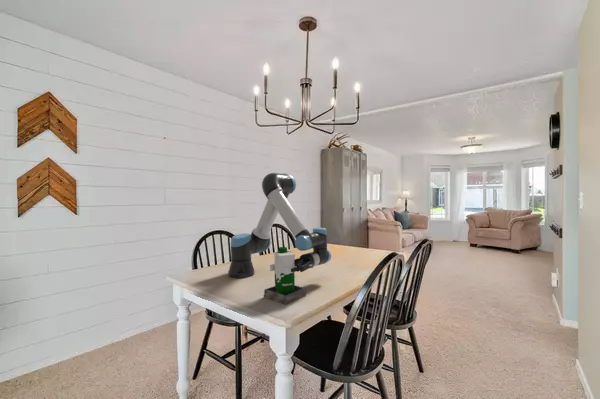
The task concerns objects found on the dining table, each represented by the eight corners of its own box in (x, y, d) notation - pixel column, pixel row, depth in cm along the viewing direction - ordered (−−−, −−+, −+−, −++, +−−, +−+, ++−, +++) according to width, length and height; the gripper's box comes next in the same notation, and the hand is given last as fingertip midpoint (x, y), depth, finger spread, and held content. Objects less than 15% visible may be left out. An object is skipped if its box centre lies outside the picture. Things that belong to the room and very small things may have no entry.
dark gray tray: (263, 297, 137) (263, 289, 137) (284, 289, 147) (284, 282, 147) (285, 304, 128) (285, 296, 128) (306, 295, 138) (306, 288, 138)
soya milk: (290, 287, 143) (289, 246, 143) (297, 292, 135) (296, 249, 134) (272, 289, 140) (272, 247, 139) (279, 295, 132) (278, 251, 131)
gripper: (326, 271, 144) (295, 282, 127) (293, 264, 158) (261, 273, 141) (326, 256, 144) (295, 265, 127) (293, 250, 158) (261, 258, 141)
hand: (277, 269), depth 134 cm, fingers closed on soya milk, 9 cm apart
